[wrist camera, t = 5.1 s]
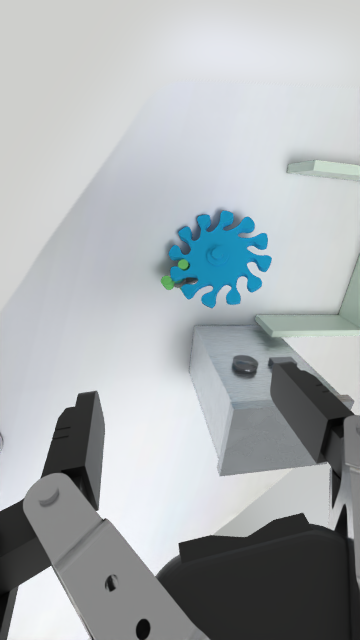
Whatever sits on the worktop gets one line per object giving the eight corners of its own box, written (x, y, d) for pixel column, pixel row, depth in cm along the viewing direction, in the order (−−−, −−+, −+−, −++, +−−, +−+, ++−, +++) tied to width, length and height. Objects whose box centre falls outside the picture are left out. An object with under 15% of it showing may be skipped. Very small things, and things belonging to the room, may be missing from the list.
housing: (186, 374, 37) (219, 476, 24) (192, 321, 34) (234, 406, 20) (260, 370, 39) (328, 463, 26) (272, 321, 36) (357, 398, 23)
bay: (255, 320, 35) (274, 340, 31) (288, 164, 28) (320, 159, 23) (342, 320, 38) (372, 338, 33) (394, 176, 30) (442, 174, 26)
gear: (249, 192, 27) (290, 281, 24) (248, 226, 32) (280, 301, 29) (145, 233, 28) (171, 322, 25) (161, 259, 34) (184, 334, 31)
